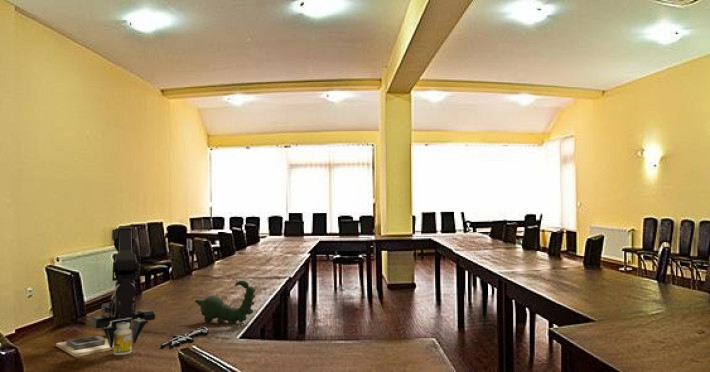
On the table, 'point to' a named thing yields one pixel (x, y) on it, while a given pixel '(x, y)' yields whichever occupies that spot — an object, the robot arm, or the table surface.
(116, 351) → the supplement bottle
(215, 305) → the toy figurine
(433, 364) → the table surface
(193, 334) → the toy rifle
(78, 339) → the collar board
